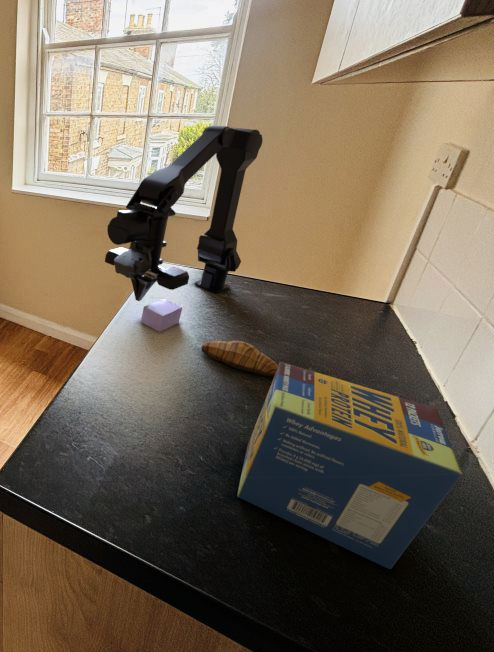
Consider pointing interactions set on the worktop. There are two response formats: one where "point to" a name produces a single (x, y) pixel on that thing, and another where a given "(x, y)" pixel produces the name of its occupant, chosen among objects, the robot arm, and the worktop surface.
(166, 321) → the block
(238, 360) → the croissant
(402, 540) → the protein box
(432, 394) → the worktop surface
